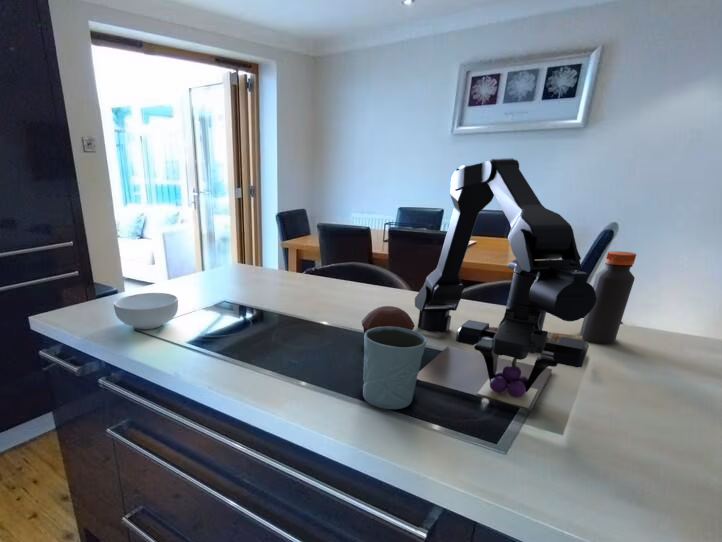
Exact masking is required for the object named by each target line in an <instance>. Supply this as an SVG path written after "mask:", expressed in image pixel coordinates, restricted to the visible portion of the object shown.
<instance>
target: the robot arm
mask: <svg viewBox="0 0 722 542" xmlns="http://www.w3.org/2000/svg"><path fill="white" fill-rule="evenodd" d="M449 195H450V199H451V201H452V204H453V210H452V213H451V217H450V221H449V224H448V226H447V227H448V228H447V231H446V234H445V238H444V242H443V246H442V249H441V251H440V256H439V260H438V263H437V266H436V268H435V269H434V270H433V271H432V272H430V273H429V274H428V275H427V276H426V278H425V281H424V283H423V286H422V287H421V288H420V290H419V291H418V293H417V294H416V296H415V297H414V307H415V308H416V309H418V310H419V315H418V321H417V328H418V329H421V330H422V331H425V332H429V333H447V332H448V331H449V330H450V328H451V323H452V321H451V320H452V315H451V314H450V312H451V311H457V309H458V307H459V304H460V301H461V300H462V296H463V292H464V289H465V286H464V284H463V282H462V279H461V277H460V271H461V268H462V266H463V263H464V259H465V256H466V253H467V250H468V247H469V244H470V241H471V238H472V235H473V232H474V228H475V225H476V223H477V220H478V217H479V214H480V213H481V212H482V211H483V210H484V209H485V208H486V207H487V206H489V204H490V203H492V201H493V199H494V197H495V199H496V201H497V202H498V205H499V206H500V208H501V210H502V212H503V213H504V215H505V217H506V219H507V221H508V222H509V226H510V230H509V233H508V235H507V241H508V243H509V246H510V249H511V252H512V254H513V256H514V257H515V259H513V260H511V261H510V262H509V263H508V264H507V267H508V268H509V269H512V270H513V273H512V278H511V281H510V282H511V283H510V288H509V292H508V297H507V301H506V307H505V312H504V316H503V318H502V319H501V321H500V322H499V324H498V330H497V331H494V330H489V327H490V323H489V322H484V321H477V320H473V319H468V320H467V321H465V322H463V324H461V325H460V326H459V327H458V328H457V331H456V335H455V342H456V343H459V344H464V345H470V346H473V349H474V350H475V351H478V352H479V353H480V354H482V355H483V356H484V359H485V362H486V366H487V371H488V376H489V380H490V381H491V379H492V378H494V377H495V375H496V370H497V362H498V358H499V356H505V357H510V358H512V359H514V358H515V359H517V360H519V361H521V360H522V361H523V360H525V359H527V358H528V355H529V354H531V355H534V354H535V353H536V354H538V356H537V357H536V360H535V361H534V364H533V365H534V367H533V369H532V372H531V374H530V376H529V379H528V381H527V383H526V392H528V390H529V389H530V387H531V386H532V385H533V383H534V382H535V380H536V379H537V378H538V376H539V375H540V374H541V373H542V372H543V371H544V370H545V369H546V368H549V367H552V368H555V367H556V368H557V367H558V365H564V366H567V367H571V368H576V369H577V368H582V367H583V365H584V362H585V360H586V357H587V354H588V351H589V346H590V345H589V343H588V341H586V340H578V339H573V338H567V337H562V336H561V337H560V339H559V341H558V343H557V342H552V341H547V337H548V332H549V331H547V330H543V329H544V324H545V320H546V316H547V314H550V315H552V316H554V317H556V318H558V319H560V320H562V321H564V322H575V321H579V320H581V319H584V317H585V316H586V315H587V314H588V313H589V312H590V311H591V310H592V309H593V307H594V305H595V303H596V299H597V297H596V293H595V290H594V288H593V285H592V284H591V283H588V282H587V281H588V278H589V273H587V272H585V271H581V270H582V265H581V260H582V257H581V255H580V253H579V250H578V247H577V243H576V239H575V234H574V233H575V232H574V229H573V227H572V225H571V224H570V223H569V222H568V221H567V220H566V219H565V218H564V217H563V216H562V215H561V214H559V213H558V212H555V211H553V210H551V209H549V208H547V207H546V206H544V205H543V204H542V202H541V201H540V200H539V198H538V196H537V195H536V193H535V192H534V190H533V188H532V187H531V185H530V183H529V182H528V181H527V179H526V178H525V176H524V175H523V173H522V171H521V170H520V163H519V160H517V159H514V158H513V157H503V158H502V157H501V158H500V157H499V158H490V159H487V160H484V161H483V162H480V163H475V164H462V165H460V166H459V167H458V168H456V169H455V170H454V172H453V173H452V175H451V178H450V190H449Z"/></svg>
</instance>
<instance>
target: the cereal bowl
mask: <svg viewBox="0 0 722 542" xmlns="http://www.w3.org/2000/svg"><path fill="white" fill-rule="evenodd" d="M113 309H114V313H115V316H116V317H117V319H118V320H119V321H120V322H121V323H123V324H124V325H127V326H131V327H133V328H135V329H137V330H153V329H158V328H160V327H162V326H163V325H164V324H166V323H168V322H170V321H172V320H173V318H175V316H176V315H177V313H178V310H179V299H178V297H177V295H175V294H172V293H165V292H145V293H137V294H131V295H127V296H123V297H120V298H118V299H116V300H115V301H114V302H113Z"/></svg>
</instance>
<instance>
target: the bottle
mask: <svg viewBox="0 0 722 542" xmlns="http://www.w3.org/2000/svg"><path fill="white" fill-rule="evenodd" d="M636 257H637V254H636V252H630V251H621V250H612V251H607V254H606V258H605V262H604V265H605V267H604V269H602V270H601V271H598V273H596V274H595V276H594V277H595V278H594V280H593V285H592V287H593V288H594V290H595V293H596V297H597V299H596V303H595V305H594V307H593V309H592V310H591V311H590V312H589V313H588V314H587V315H586V316H584V317H583V320H582V324H581V328H580V331H579V336H583V337H584V341H586V342H589V343H595V344H602V345H603V344H604V345H609V344H612V343H614V342H615V341H616V339H617V336H618V333H619V330H620V326H621V323H622V321H623V317H624V314H625V311H626V307H627V304H628V301H629V298H630V295H631V292H632V289H633V285H634V282H635V276H634V274H633V273H632V272H631V268H632V267H633V266H634V264H635V261H636Z"/></svg>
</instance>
